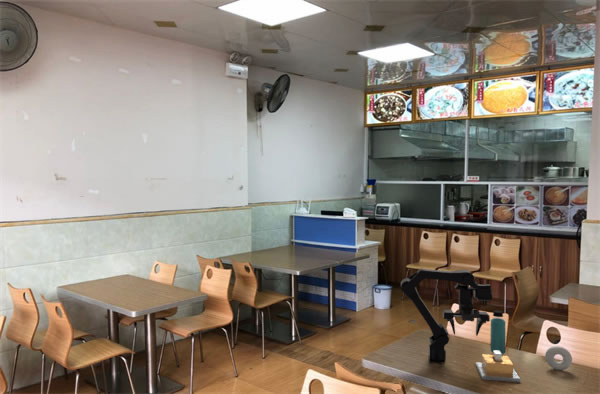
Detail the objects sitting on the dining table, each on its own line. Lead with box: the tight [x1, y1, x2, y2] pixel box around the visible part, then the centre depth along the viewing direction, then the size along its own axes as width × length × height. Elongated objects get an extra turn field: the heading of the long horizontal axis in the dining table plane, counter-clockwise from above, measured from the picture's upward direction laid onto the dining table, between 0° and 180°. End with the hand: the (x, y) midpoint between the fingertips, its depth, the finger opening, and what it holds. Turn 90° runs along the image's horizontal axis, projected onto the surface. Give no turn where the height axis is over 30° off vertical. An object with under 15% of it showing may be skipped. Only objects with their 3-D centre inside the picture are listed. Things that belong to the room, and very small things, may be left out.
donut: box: [544, 345, 573, 371], centre depth 192 cm, size 10×3×10 cm, turn 66°
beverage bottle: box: [489, 310, 507, 355], centre depth 209 cm, size 6×7×20 cm
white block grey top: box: [492, 350, 503, 362], centre depth 188 cm, size 2×4×9 cm, turn 168°
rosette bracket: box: [475, 353, 521, 383], centre depth 189 cm, size 14×15×6 cm
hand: (465, 335), depth 200 cm, fingers open, 9 cm apart
